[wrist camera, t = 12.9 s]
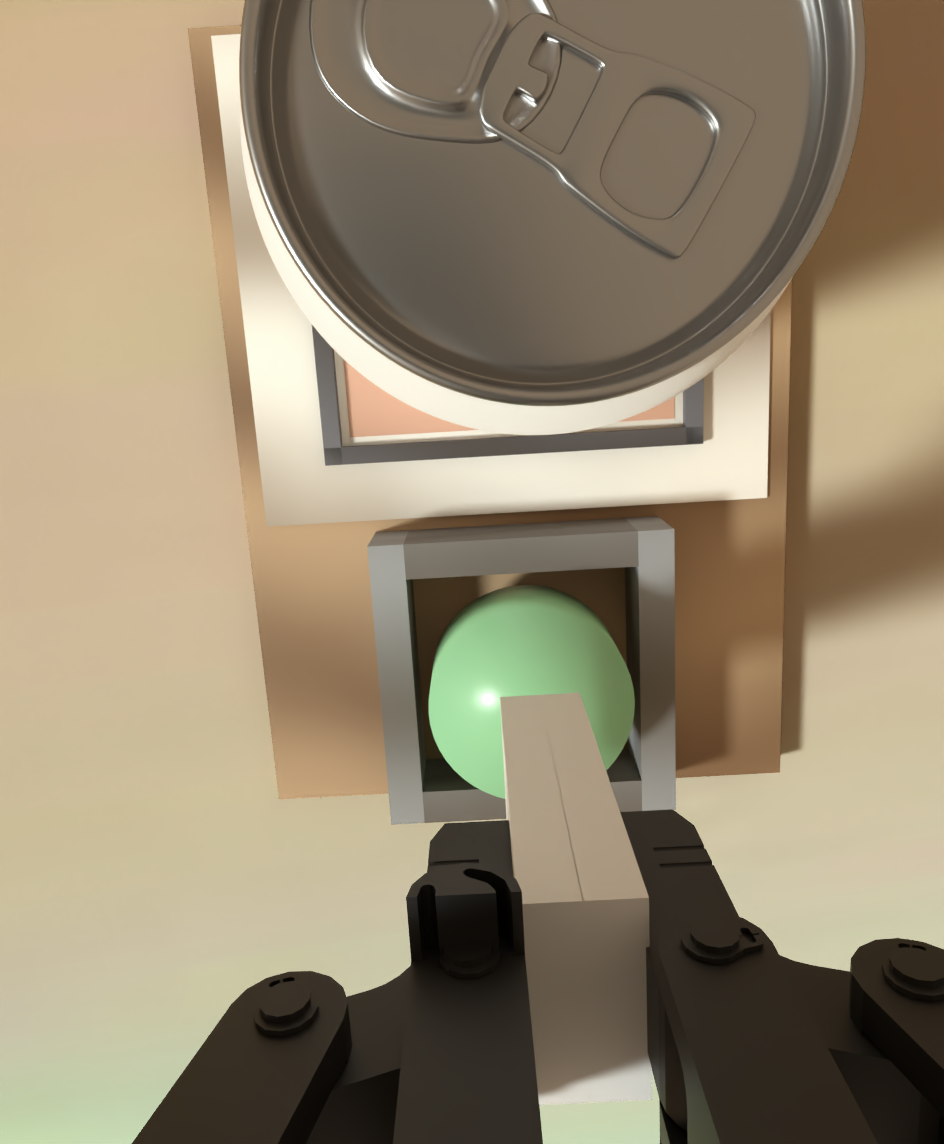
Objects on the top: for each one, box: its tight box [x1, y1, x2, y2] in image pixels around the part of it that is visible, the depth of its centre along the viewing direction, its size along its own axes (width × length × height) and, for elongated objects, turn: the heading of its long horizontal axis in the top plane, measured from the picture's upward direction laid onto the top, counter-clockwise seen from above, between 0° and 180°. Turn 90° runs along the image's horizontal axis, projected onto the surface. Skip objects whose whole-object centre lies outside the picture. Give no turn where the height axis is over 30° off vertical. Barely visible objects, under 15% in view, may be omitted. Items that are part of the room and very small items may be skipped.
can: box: [239, 0, 866, 435], centre depth 14 cm, size 6×6×12 cm
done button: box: [429, 585, 635, 799], centre depth 19 cm, size 4×4×2 cm
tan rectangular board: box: [188, 25, 792, 825], centre depth 20 cm, size 18×13×3 cm
